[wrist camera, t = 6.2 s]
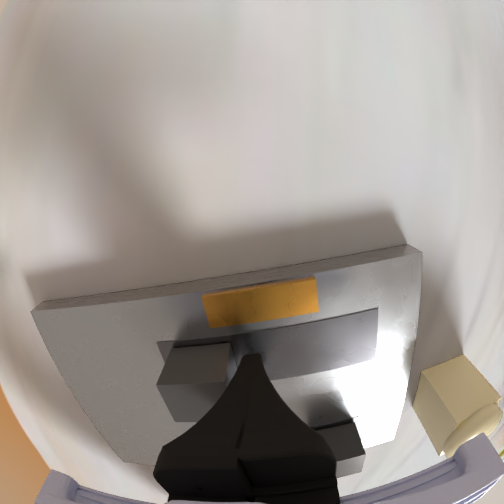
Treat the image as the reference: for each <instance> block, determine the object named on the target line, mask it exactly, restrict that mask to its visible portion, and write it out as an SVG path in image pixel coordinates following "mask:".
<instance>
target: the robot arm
mask: <svg viewBox="0 0 504 504" xmlns="http://www.w3.org/2000/svg"><path fill="white" fill-rule="evenodd" d="M336 468H337V461H336V458H335V455H334V453H333V451H332V450H331V448H330V446H329V445H328V443H327V442H326V440H325V439H324V438H323V436H322V435H321V434H319V433H318V432H316V431H315V430H313V429H312V428H311V427H309V426H308V425H307V424H306V423H305V422H303V421H302V420H301V419H300V418H299V417H298V416H297V415H296V414H295V413H294V412H293V411H292V410H291V409H290V408H289V407H288V406H287V404H286V403H285V402H284V401H283V399H282V398H281V397H280V395H279V394H278V393H277V391H276V389H275V388H274V386H273V385H272V383H271V381H270V379H269V377H268V375H267V373H266V371H265V368H264V364H263V359H262V355H261V354H260V353H254V354H246V355H244V356H243V357H242V359H241V362H240V364H239V366H238V368H237V370H236V372H235V374H234V376H233V378H232V379H231V381H230V383H229V384H228V386H227V388H226V389H225V391H224V392H223V394H222V395H221V396H220V398H219V399H218V400H217V402H216V403H215V404H214V405H213V407H212V408H211V409H210V410H209V411H208V412H207V413H206V414H205V415H204V416H203V417H202V418H201V419H200V420H199V421H198V422H197V423H196V424H195V425H193V426H192V427H191V428H190V429H188V430H187V431H186V432H185V433H183V434H182V435H180V436H179V437H177V438H176V439H174V440H172V441H171V442H169V443H167V444H166V445H164V446H162V449H161V451H160V453H159V456H158V458H157V461H156V465H155V468H154V472H153V475H154V478H155V479H156V481H157V482H158V483H159V484H160V485H161V486H162V487H163V488H164V489H165V490H166V491H167V492H168V493H169V497H168V502H167V503H165V504H471V503H473V502H475V501H476V500H478V499H479V498H481V497H482V496H483V495H484V494H485V493H486V492H487V491H489V490H490V489H491V488H492V486H494V485H495V484H496V483H497V482H498V481H499V480H500V478H501V477H502V476H503V475H504V463H503V461H502V459H501V458H500V456H499V455H498V453H497V451H496V450H495V448H494V447H493V445H492V444H491V442H490V441H489V439H488V438H487V436H486V435H485V433H484V432H482V433H480V434H479V435H477V436H475V437H474V438H472V439H470V440H468V441H467V442H465V443H463V444H462V445H461V446H459V447H458V448H457V450H456V451H455V453H454V455H453V456H452V457H450V458H448V459H446V460H444V461H442V462H440V463H438V464H436V465H434V466H432V467H429V468H427V469H425V470H422V471H420V472H418V473H415V474H413V475H410V476H408V477H405V478H403V479H400V480H397V481H394V482H391V483H389V484H386V485H383V486H379V487H376V488H373V489H370V490H366V491H363V492H359V493H355V494H351V495H347V496H343V497H339V492H338V488H337V478H336ZM35 504H155V503H149V502H143V501H138V500H133V499H128V498H124V497H120V496H116V495H112V494H108V493H104V492H100V491H97V490H94V489H90V488H87V487H84V486H81V485H79V484H78V483H77V482H76V481H75V480H74V479H73V478H71V477H70V476H68V475H66V474H63V473H61V472H58V471H55V470H51V471H50V473H49V474H48V476H47V478H46V480H45V482H44V484H43V486H42V488H41V490H40V492H39V494H38V496H37V498H36V500H35Z"/></svg>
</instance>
